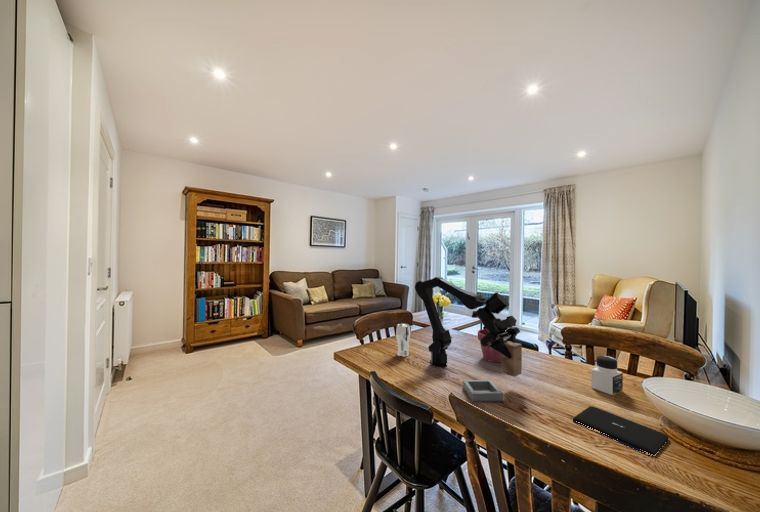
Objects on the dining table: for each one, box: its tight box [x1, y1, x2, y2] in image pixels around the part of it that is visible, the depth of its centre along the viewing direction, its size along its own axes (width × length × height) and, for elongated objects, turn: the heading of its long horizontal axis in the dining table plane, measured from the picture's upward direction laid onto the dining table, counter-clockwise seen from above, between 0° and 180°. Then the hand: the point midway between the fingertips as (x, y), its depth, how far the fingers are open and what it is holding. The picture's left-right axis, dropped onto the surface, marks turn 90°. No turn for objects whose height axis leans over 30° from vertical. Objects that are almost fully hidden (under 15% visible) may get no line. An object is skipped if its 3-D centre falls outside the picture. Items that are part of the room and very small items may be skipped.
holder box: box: [462, 379, 504, 403], centre depth 101 cm, size 10×10×3 cm
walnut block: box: [500, 341, 523, 378], centre depth 106 cm, size 5×5×11 cm
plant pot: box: [477, 328, 505, 363], centre depth 137 cm, size 14×14×13 cm
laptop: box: [572, 405, 669, 455], centre depth 81 cm, size 16×20×2 cm
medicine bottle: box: [590, 355, 624, 396], centre depth 105 cm, size 7×7×12 cm
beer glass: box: [395, 323, 411, 358], centre depth 142 cm, size 7×7×15 cm
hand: (514, 356), depth 105 cm, fingers closed on walnut block, 5 cm apart
